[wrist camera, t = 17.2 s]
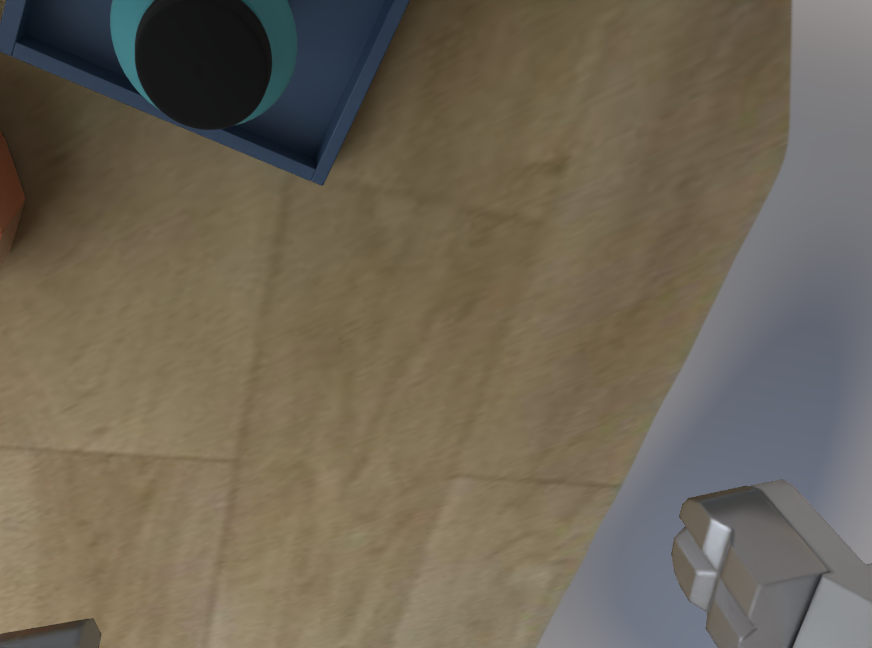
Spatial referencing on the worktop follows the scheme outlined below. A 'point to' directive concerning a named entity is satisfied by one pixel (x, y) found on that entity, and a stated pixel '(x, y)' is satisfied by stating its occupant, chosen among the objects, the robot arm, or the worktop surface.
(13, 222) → the bowl
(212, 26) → the beverage bottle
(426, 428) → the worktop surface
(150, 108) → the tray
